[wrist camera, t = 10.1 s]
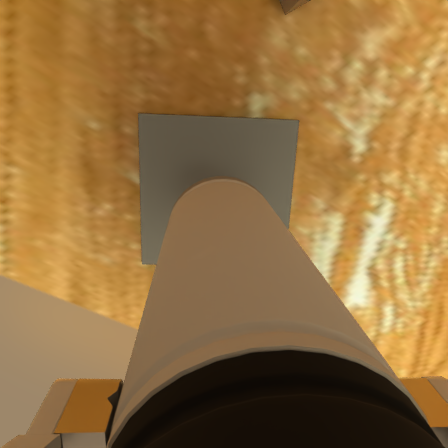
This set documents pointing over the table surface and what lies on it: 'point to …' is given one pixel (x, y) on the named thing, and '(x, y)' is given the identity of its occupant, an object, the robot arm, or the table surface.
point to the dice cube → (292, 4)
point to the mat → (210, 163)
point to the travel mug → (253, 343)
